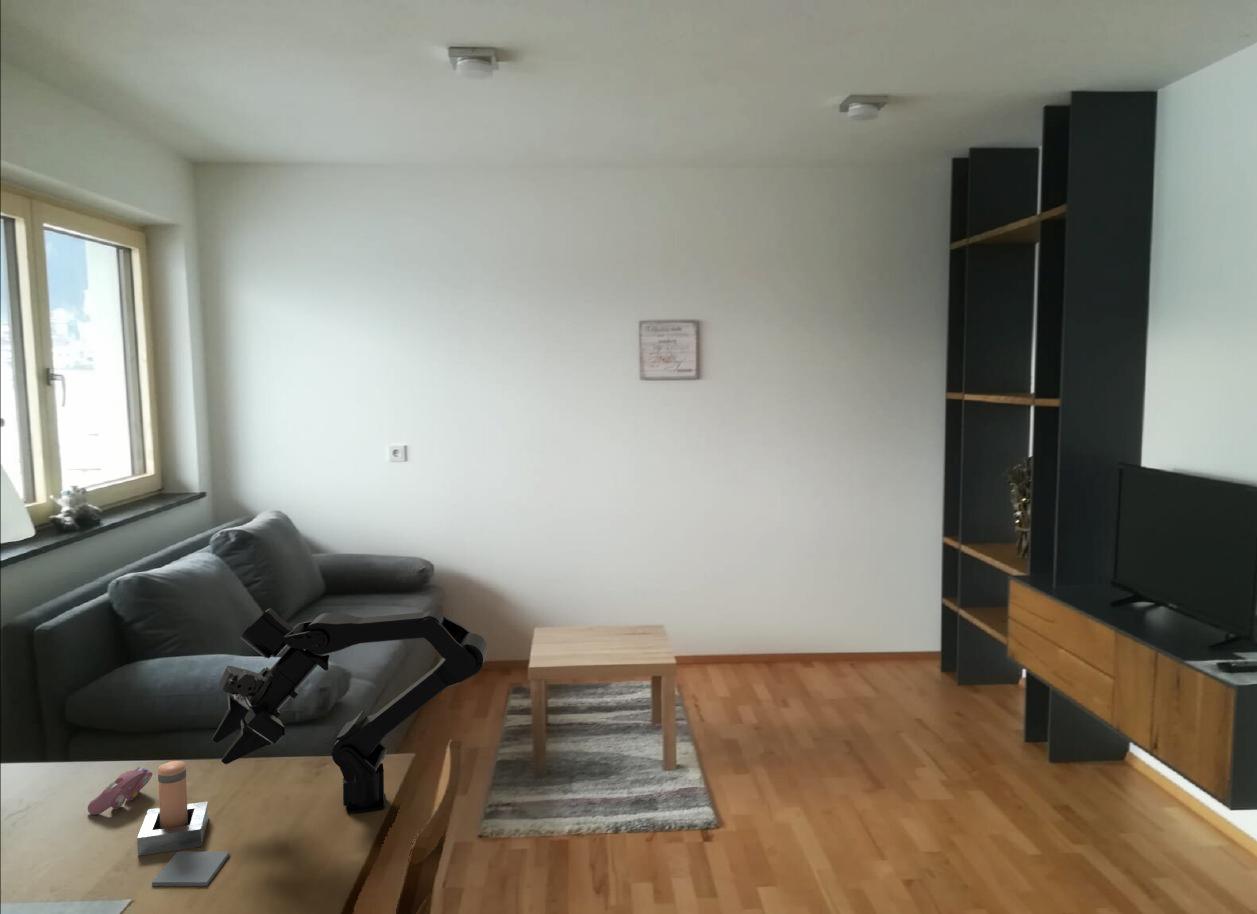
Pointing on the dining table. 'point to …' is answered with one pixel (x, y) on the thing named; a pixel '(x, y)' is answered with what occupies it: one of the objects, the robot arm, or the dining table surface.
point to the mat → (190, 869)
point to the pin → (172, 794)
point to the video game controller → (120, 790)
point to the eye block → (172, 831)
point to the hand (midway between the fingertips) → (218, 751)
